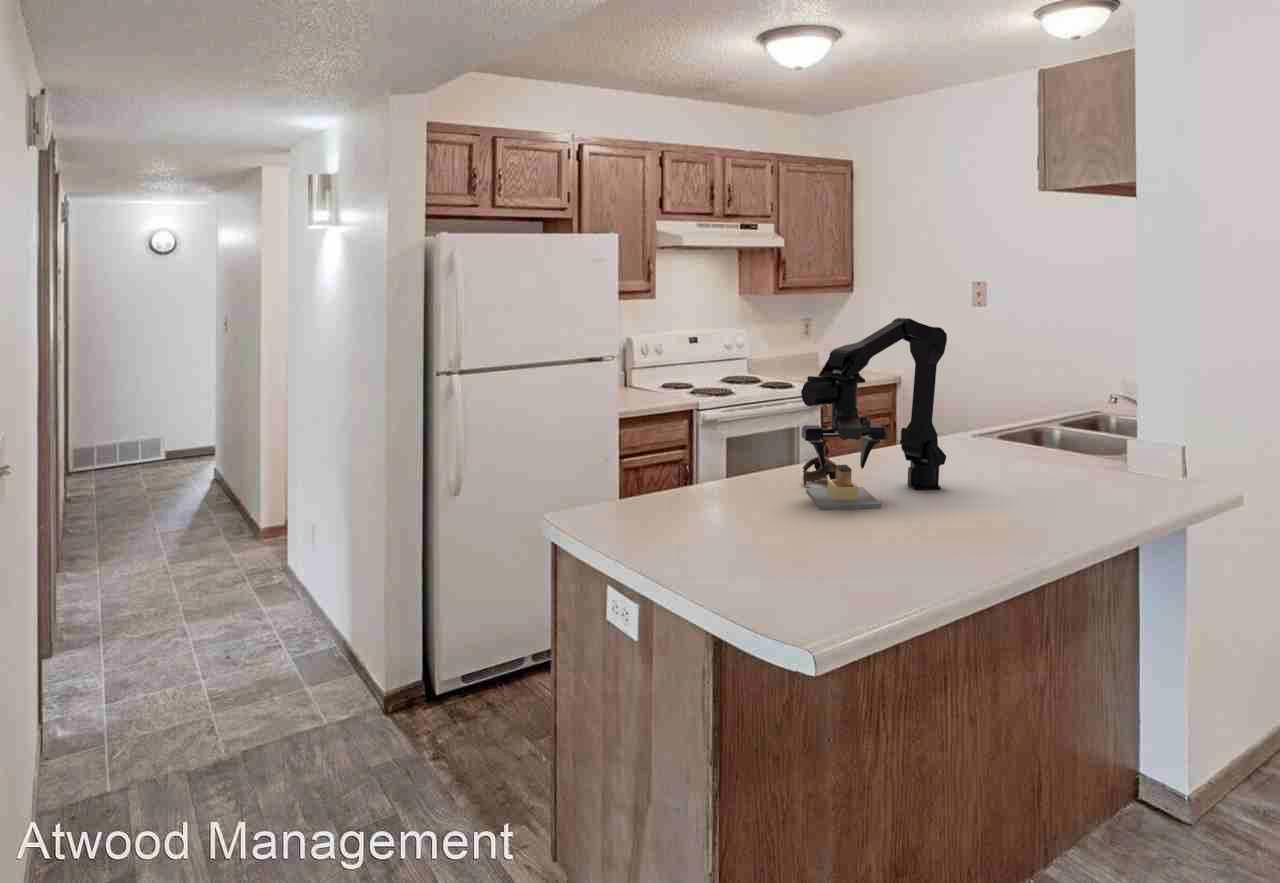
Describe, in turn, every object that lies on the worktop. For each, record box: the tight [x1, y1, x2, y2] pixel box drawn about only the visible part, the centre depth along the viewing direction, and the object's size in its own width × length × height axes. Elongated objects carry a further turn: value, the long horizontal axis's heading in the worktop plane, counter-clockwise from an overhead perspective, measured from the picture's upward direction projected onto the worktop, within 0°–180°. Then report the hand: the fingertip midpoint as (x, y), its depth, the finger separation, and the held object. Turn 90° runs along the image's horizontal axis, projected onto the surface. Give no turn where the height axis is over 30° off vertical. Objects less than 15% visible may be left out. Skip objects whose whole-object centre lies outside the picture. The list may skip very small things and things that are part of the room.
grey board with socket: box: [805, 479, 882, 510], centre depth 205 cm, size 14×16×4 cm
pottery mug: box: [802, 455, 837, 485], centre depth 222 cm, size 12×10×8 cm
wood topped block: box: [835, 464, 853, 487], centre depth 205 cm, size 2×5×7 cm, turn 0°
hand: (842, 468), depth 204 cm, fingers open, 9 cm apart
